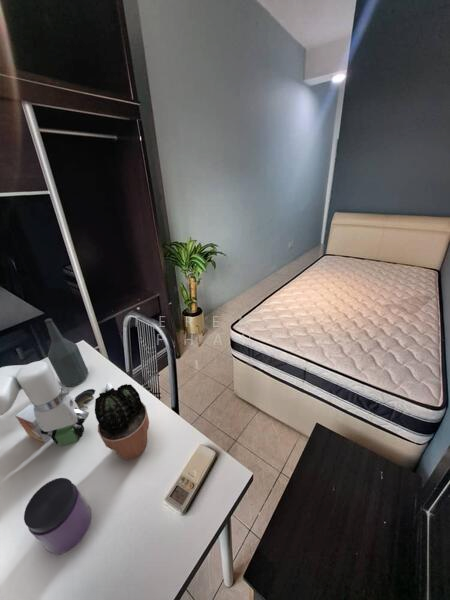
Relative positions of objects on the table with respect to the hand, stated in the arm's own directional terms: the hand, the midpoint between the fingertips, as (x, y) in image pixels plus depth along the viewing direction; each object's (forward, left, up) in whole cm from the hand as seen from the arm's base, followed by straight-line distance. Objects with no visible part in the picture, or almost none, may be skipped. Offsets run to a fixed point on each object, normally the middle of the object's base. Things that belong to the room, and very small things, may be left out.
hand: (70, 435), depth 81 cm
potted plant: (+20, -10, -1) cm, 22 cm away
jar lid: (+5, -26, +12) cm, 29 cm away
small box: (-9, +5, -1) cm, 10 cm away
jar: (+5, -26, -1) cm, 26 cm away
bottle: (-4, +29, -1) cm, 29 cm away
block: (0, 0, -1) cm, 1 cm away
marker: (+13, +12, -1) cm, 18 cm away
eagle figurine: (+2, +12, -1) cm, 12 cm away
